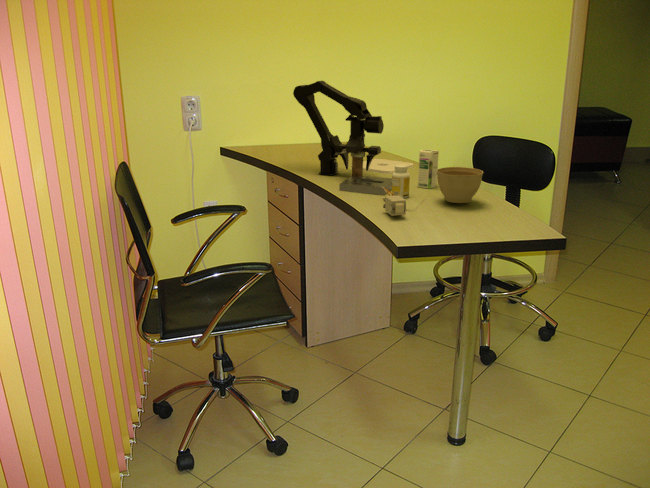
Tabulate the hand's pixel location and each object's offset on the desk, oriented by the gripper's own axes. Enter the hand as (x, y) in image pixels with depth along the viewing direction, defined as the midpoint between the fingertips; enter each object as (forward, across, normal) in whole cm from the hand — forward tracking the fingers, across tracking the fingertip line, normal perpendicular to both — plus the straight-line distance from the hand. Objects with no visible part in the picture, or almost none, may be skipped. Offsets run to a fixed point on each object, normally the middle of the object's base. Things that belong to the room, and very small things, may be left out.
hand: (357, 170), depth 253 cm
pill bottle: (+4, +24, -21) cm, 32 cm away
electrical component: (+4, +24, -36) cm, 44 cm away
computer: (+5, +4, +24) cm, 25 cm away
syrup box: (+4, +30, -2) cm, 30 cm away
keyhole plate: (+4, +9, -13) cm, 16 cm away
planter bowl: (+4, +45, -19) cm, 49 cm away
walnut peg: (+4, 0, 0) cm, 4 cm away
